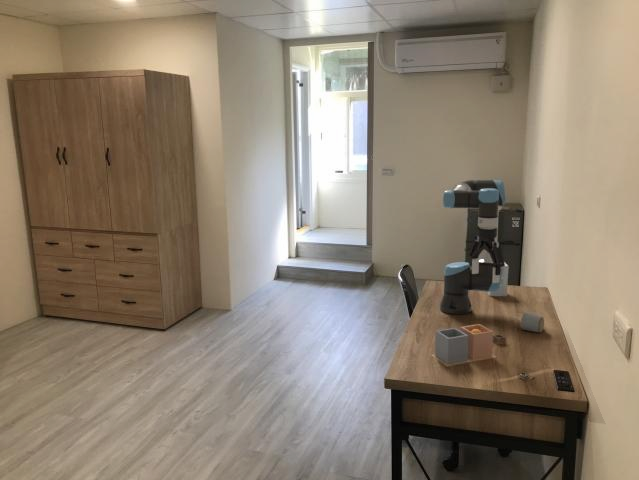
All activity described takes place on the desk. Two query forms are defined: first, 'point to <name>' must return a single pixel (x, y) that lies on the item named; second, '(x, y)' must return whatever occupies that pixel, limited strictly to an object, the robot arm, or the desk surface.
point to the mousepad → (525, 377)
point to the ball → (475, 331)
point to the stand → (499, 339)
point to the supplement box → (502, 283)
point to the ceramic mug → (532, 322)
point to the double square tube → (463, 345)
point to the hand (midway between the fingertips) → (485, 277)
